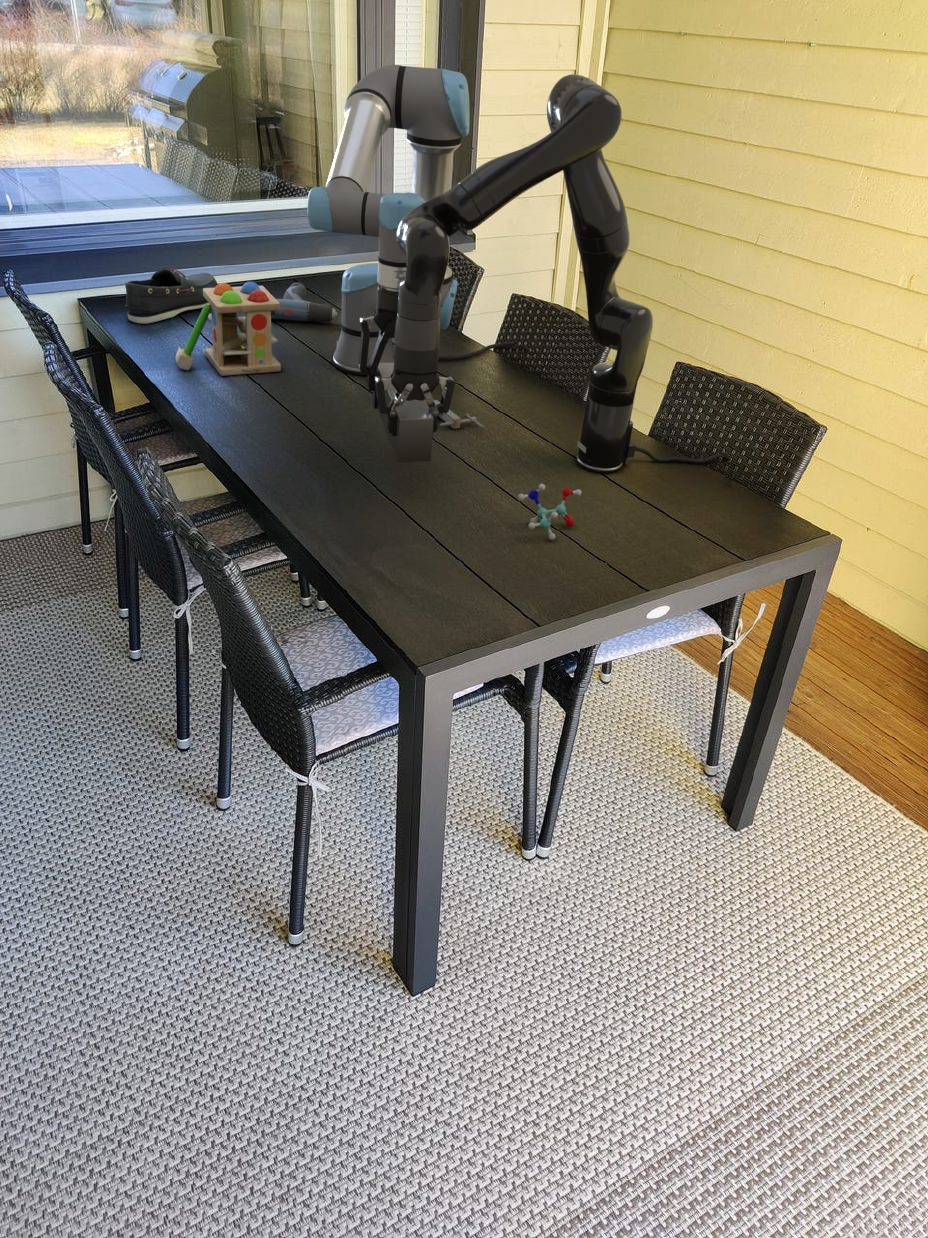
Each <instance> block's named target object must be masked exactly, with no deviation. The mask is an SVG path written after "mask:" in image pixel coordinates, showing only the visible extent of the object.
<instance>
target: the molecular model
mask: <svg viewBox="0 0 928 1238" xmlns="http://www.w3.org/2000/svg"><path fill="white" fill-rule="evenodd" d="M544 490H546V485H545V484H544V483H539V485H538V488H537V489H533V490H531V491H529V493H528V494H527V493H526V494H523V493H519V494H518V495H517V499H518V500H519V501H520V502H522V501H524V500H525V499H530V500H532V501H534V503H535V504H536V507H537V509H538V510H537V512H536V513H537V515H536V516H535V517H531V519H530V522H529V523H528V525H527V526H528V528H529V530H534V529H536V528H537V527H541V528H542V529H544V530H546V532H547V534H548V539H549V540H550V541H554V540H555V539H556V534H555V533H553V532H552V529H551V528H550V527H551V525H552V524H551V522H552V520H553V519H557V518H558V516H561V517H562V519H563V520H564V522H565V525H566V526H567V527H568V528H572V527H573V526H575V520H574V518H572V517H570V515H569V514H568V513H567V507H566V506H565V504H566V500H567V498H569V497H570V496H571V495H575V496H576V497H580V496H581V495H582V490H581V489H575V490H571V489H570V488H568V487H564V488H563V489H562V491H561V493H562V499H561V502H560V504H558V505H556V507H555V508H552V509H547V508H545V507H542V505H541V503H540V500H539V499H538V497H539V493H540V492H542V491H544ZM548 514H550V516H549V517H547V516H548ZM539 519H541V520H540V522H538V520H539Z"/></svg>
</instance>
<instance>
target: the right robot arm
mask: <svg viewBox="0 0 928 1238" xmlns="http://www.w3.org/2000/svg"><path fill="white" fill-rule="evenodd" d="M622 113H623V112H622V107H621V104H620V102H619V100H618V99H617V98H616V96H615V95H614V94H612V93H611V92H610V91H608V89H606V88H604V87H603V86H601V84H598V83H597V82H595V81H594V80H593V79H591V78H589V77H587V76H584V75H581V74H577V73H572V74H571V73H570V74H567V75H564V76H563V77H561V78H560V79H559V80H557V82H556V83H555V84H554V85H553V87H552V89H551V90H550V92H549V95H548V98H547V104H546V116H547V118H546V119H547V123H548V127H549V130H550V133H548V134H547V135H545V136H544V137H542V138H540V139H538V140H537V141H536V142H534V143H531V144H529V145H527V146H525V147H523V148H520V149H518V150H515V151H511V152H508V153H506V154H505V153H504V154H503V155H501V156H497V157H495V158H492V159H490V160H489V161H486V162H484V163H483V164H481V165H479V166H478V167H476V168H475V169H474V170H473V171H471V172H470V173H468V174H467V175H466V176H465V177H464V178H462V179H461V180H459V181H458V182H457V183H456V184H454V185H453V186H451V189H450V190H449V191H447V192H445V193H443V194H441V195H439V196H437V197H435V198H433V199H431V200H429V201H427V202H425V203H423V204H422V205H420V206H418V207H416V208H415V209H413V210H412V211H411V212H409V213H408V214H407V215H406V216H405V217H404V218H403V219H402V220H401V222H400V223H399V225H398V228H397V232H396V240H397V243H398V246H399V248H400V249H401V250H402V251H403V252H404V253H405V254H406V255H407V266H406V275H405V278H403V279H402V280H401V282H400V285H399V291H398V311H397V320H396V326H395V333H394V338H393V339H394V345H393V347H394V369H393V372H392V374H391V376H390V377H384V378H381V377H380V376H376V377H375V387H376V396H377V404H378V408H379V411H380V413H382V414H384V413H385V414H387V415H388V425H387V427H388V430H389V433H391V434H392V436H396V433H397V416H396V415H397V413H398V411H399V409H400V408H401V407H402V406H403V404H404V402H405V400H406V401H411V400H419V401H424V400H425V401H426V402H427V404H428V407H429V409H430V412H431V414H432V416H433V418H434V422H433V434H434V433H436V432H437V430H438V420H439V419H438V418H439V416H438V415H439V414H441V413H448V411H449V410H450V407H451V404H452V399H453V395H454V390H455V386H456V382H455V381H454V379H453V378H452V376H451V375H447V376H446V377H445V376H439V372H438V370H439V369H438V368H439V360H438V356H440V354H439V353H440V339H441V330H440V302H441V288H442V285H443V282H444V278H445V274H446V270H447V266H448V265H449V260H450V249H451V248H450V247H451V245H450V238H449V237H451V236H453V235H455V234H456V233H458V232H461V231H463V232H465V231H466V232H469V231H472V230H474V229H476V228H477V227H479V226H480V225H482V224H483V223H484V222H486V221H488V220H489V219H490V218H491V217H492V216H493V215H495V214H496V213H498V212H499V211H500V210H501V209H503V208H504V207H505V206H507V205H508V204H510V203H511V202H512V201H514V200H515V199H517V198H518V197H520V196H521V195H522V194H524V193H526V192H527V191H529V190H531V189H532V188H534V187H535V186H537V185H539V184H541V183H543V182H544V181H546V180H547V179H550V178H552V177H554V176H555V175H557V174H559V173H561V172H563V177H564V183H565V189H566V193H567V194H566V195H567V199H568V204H569V209H570V215H571V220H572V226H573V232H574V236H575V241H576V245H577V246H576V247H577V249H578V253H579V257H580V263H581V269H582V275H583V280H584V287H585V295H586V298H585V299H586V309H587V319H588V327H589V332H590V335H591V337H592V339H593V340H594V341H595V342H596V343H597V344H599V345H602V346H603V347H605V348H607V349H611V350H614V351H616V354H615V358H614V361H604V362H600V363H597V364H595V365H594V366H593V367H592V369H591V372H590V376H589V377H590V378H589V383H588V389H587V396H586V403H585V407H584V408H585V409H584V415H583V420H582V421H583V422H582V427H581V434H580V440H577V444H576V445H577V448H578V451H577V454H576V463H577V464H578V465H579V466H580V467H581V468H583V469H584V470H587V471H590V472H595V473H601V474H612V473H615V472H618V471H620V470H621V469H622V468H623V467H626V464H627V459H629V458H634V457H635V453H636V452H639V453H642V454H644V455H646V456H648V457H649V458H650V459H651V460H653V461H655V462H659V463H668V462H669V463H670V462H682V463H690V464H704V463H708V462H711V461H713V460H716V459H718V458H724V459H725V460H726V461H731V458H730V456H729V455H727V456H725V457H722V454H721V452H720V453H719V452H718V453H716V454H713V455H711V456H708V457H705V458H700V459H699V458H698V459H696V458H688V457H680V456H671V457H664V458H663V457H657V456H655V455H654V454H652V453H651V452H650V451H649V450H647V449H645V448H641V447H638V446H637V444H635V443H634V442H632V441H631V439H632V433H633V429H634V428H633V427H634V423H633V421H632V420H631V418H632V413H633V409H634V403H635V397H636V392H637V386H638V381H639V379H640V377H641V374H642V373H643V369H644V366H645V361H646V359H647V353H648V349H649V347H650V346H649V345H650V342H651V337H652V333H653V327H654V317H653V313H652V311H651V310H650V308H649V307H647V306H645V305H642V304H639V303H636V302H633V301H630V300H628V299H625V298H622V297H621V296H620V294H619V293H618V289H617V284H616V283H617V282H616V274H617V272H618V269H619V268H620V266H621V264H622V263H623V261H624V259H625V258H626V255H627V254H628V250H629V247H630V243H631V238H630V228H629V227H630V226H629V221H628V215H627V209H626V204H625V202H624V200H623V197H622V195H621V194H622V193H621V191H620V189H619V187H618V184H617V182H616V181H615V179H614V176H613V174H612V172H611V170H610V168H609V165H608V164H607V162H606V159H605V157H604V153H603V150H602V149H603V148H605V147H606V146H607V145H608V144H609V143H611V141H612V140H613V139H614V138H615V136H616V135H617V133H618V131H619V129H620V127H621V123H622V117H623V116H622ZM389 384H392V385H393V386H394V388H395V389H396V391H395V393H394V395H393V398H392V401H391V403H390V404H389V405H387V404H386V400H385V391H386V390H388V386H389ZM439 384H440V388H441V390H442V392H441V396H440V401H439V402H440V404H437V405H435V402H434V400H435V399H434V398H433V395H432V393H433V392H434V390H436V388H437V386H439Z"/></svg>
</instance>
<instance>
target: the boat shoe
mask: <svg viewBox="0 0 928 1238" xmlns="http://www.w3.org/2000/svg"><path fill="white" fill-rule="evenodd" d="M217 285H218V281H217V280H216V278H215V277H214V275H213V274H211V273H208V272H202V273H196V274H191V275H187V276H186V275H185V273H183V272H181V271H180V270H177V269H175V268H170V267H166V266H165V267H162V268H160V269H158V270H157V271H155V272H154V273H153V274H152V276H151V277H150V278H149V279H141V280H127V281H126V282H125V283H124V287H125V293H126V294H125V295H126V296H125V301H126V302H125V304H124V308H126V309H127V319H128V320H129V322H133V323H137V324H152V323H155V322H160V321H163V320H167V319H170V318H174V317H175V316H177V315H179V314H180V313H183V312H185V311H190V310H197V309H203V307H204V305H208V306H211V305H210V304H209V302H208V301H207V300H206V299H205V297H204V296H203V289H204V288H215V287H216V286H217Z"/></svg>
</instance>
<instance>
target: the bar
mask: <svg viewBox="0 0 928 1238" xmlns="http://www.w3.org/2000/svg"><path fill="white" fill-rule="evenodd" d="M393 369H394V363H379V365H378V368H377V372H378V375H379V376H380V377H381V378H384V377H390V376H391V374H392V372H393ZM395 391H396V389H395V388H394V386H393V385H392V384H389V386H388V390H386V391H385V400H386V404H387V405H389V404H390V403H391V401H392V398H393V395H394V393H395ZM425 401H426V400H425V399H424V401H419V400H411V401H406V400H405V402H404V404H403V406H402V407H401V408H400V409H399V411H398V413H397V415H396V416H397V433H396V436H392V434H391V433H389V430H388V427H387V425H388V415H387V414H385V413H384V414H382V413H380V411H379V408H378V409H377V411H378V414H379V417H380V419H381V422H382V425H383V427H384V430H385V432H386V435H387V438H388V440H389V443H390V446H391V448H392V451H393V454H394V456H395V458H396V461H397V463H418V462H420V463H422V462H423V463H424V462H425V463H426V462H432V450H433V436H434V433H433V422H434V418H433V416H432V414H431V412H430V410H429V408H428V406H427V404H426V402H425Z"/></svg>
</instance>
